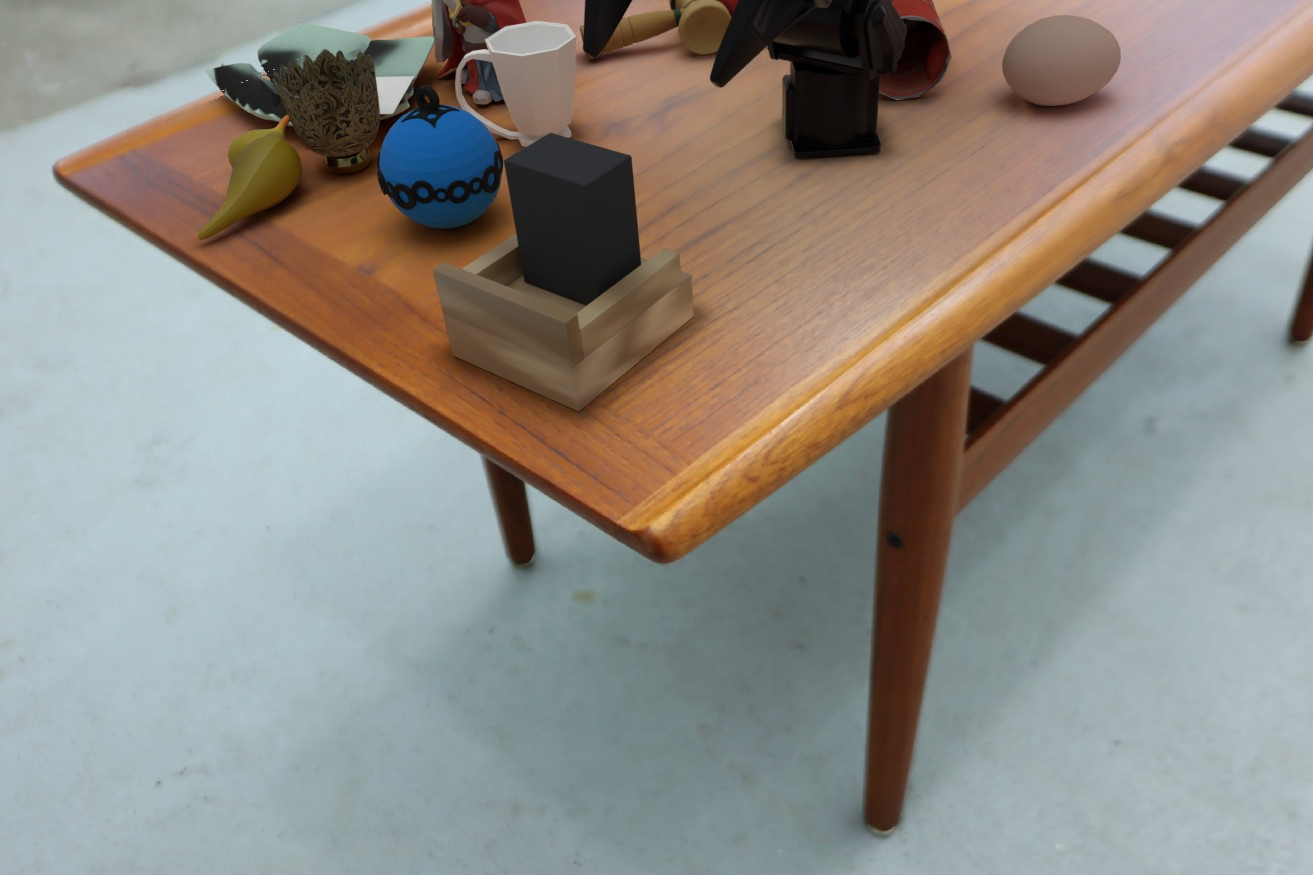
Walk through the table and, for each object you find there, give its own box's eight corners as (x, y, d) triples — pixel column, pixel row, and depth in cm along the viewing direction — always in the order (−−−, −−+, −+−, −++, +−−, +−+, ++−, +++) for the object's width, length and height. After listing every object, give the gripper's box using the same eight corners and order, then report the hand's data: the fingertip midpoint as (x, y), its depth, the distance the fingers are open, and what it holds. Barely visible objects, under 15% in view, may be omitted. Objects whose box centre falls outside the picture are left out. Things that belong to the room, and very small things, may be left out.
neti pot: (319, 81, 83) (257, 96, 86) (219, 208, 74) (154, 219, 77) (351, 129, 86) (290, 141, 89) (258, 256, 77) (194, 265, 80)
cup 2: (581, 156, 85) (569, 53, 79) (456, 159, 86) (435, 58, 81) (593, 116, 90) (582, 18, 85) (475, 120, 91) (456, 23, 86)
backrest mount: (570, 271, 72) (559, 188, 68) (694, 316, 67) (689, 230, 63) (452, 355, 66) (432, 270, 62) (578, 412, 61) (565, 322, 57)
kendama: (598, 91, 97) (792, 35, 97) (579, 18, 94) (780, -40, 94) (589, 74, 104) (771, 21, 104) (571, 5, 100) (758, -49, 101)
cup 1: (415, 152, 87) (393, 53, 82) (360, 195, 82) (332, 92, 77) (340, 140, 90) (314, 44, 85) (282, 180, 85) (251, 81, 80)
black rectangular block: (567, 252, 68) (550, 131, 63) (643, 279, 65) (632, 155, 60) (523, 282, 66) (502, 159, 60) (600, 312, 63) (585, 185, 57)
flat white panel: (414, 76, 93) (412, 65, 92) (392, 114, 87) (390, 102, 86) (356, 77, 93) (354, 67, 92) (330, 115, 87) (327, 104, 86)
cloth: (422, 114, 88) (428, 141, 89) (440, 9, 104) (445, 34, 106) (168, 138, 88) (179, 165, 89) (226, 29, 104) (234, 53, 105)
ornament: (535, 204, 79) (513, 69, 73) (467, 262, 74) (437, 122, 67) (439, 185, 83) (410, 54, 76) (367, 239, 77) (330, 104, 70)
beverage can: (928, 43, 97) (936, -35, 93) (947, 99, 88) (956, 16, 84) (847, 46, 98) (850, -31, 93) (856, 103, 89) (861, 20, 84)
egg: (1019, 116, 82) (1132, 109, 83) (1030, 22, 79) (1148, 16, 80) (982, 101, 88) (1089, 95, 89) (992, 13, 85) (1102, 8, 86)
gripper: (552, -295, 60) (447, -26, 61) (852, -287, 51) (724, 30, 51) (649, -167, 70) (558, 63, 70) (917, -141, 60) (808, 124, 61)
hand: (650, 69), depth 63 cm, fingers open, 9 cm apart
